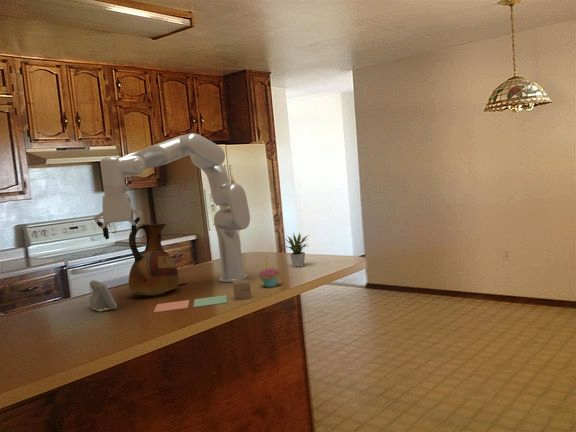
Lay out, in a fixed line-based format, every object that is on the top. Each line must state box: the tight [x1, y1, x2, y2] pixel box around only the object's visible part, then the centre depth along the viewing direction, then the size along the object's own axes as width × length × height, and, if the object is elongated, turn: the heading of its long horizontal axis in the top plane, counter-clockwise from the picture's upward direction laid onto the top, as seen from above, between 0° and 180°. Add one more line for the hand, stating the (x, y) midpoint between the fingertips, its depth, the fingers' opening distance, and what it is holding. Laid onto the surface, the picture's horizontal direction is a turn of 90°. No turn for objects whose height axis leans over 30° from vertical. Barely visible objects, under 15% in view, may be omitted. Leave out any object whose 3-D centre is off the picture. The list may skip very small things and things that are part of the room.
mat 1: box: [153, 299, 190, 314], centre depth 190 cm, size 12×12×1 cm
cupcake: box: [258, 257, 281, 288], centre depth 209 cm, size 9×8×12 cm
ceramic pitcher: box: [128, 223, 179, 296], centre depth 216 cm, size 20×20×30 cm
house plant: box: [284, 232, 310, 267], centre depth 246 cm, size 14×14×16 cm
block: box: [232, 278, 252, 301], centre depth 194 cm, size 6×6×6 cm
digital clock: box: [88, 279, 118, 310], centre depth 199 cm, size 16×9×11 cm, turn 24°
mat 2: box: [193, 294, 228, 308], centre depth 192 cm, size 12×12×1 cm
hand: (120, 237), depth 192 cm, fingers open, 9 cm apart
